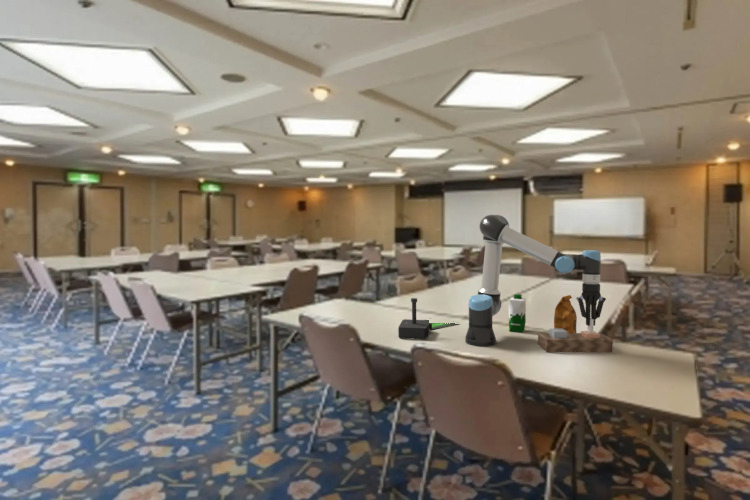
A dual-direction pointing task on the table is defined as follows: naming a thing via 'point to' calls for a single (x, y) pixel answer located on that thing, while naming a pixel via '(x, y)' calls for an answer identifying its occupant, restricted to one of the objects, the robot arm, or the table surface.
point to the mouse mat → (441, 325)
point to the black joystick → (414, 326)
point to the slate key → (558, 333)
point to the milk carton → (517, 313)
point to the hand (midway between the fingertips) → (590, 332)
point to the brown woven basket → (575, 343)
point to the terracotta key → (590, 334)
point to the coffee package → (565, 315)
